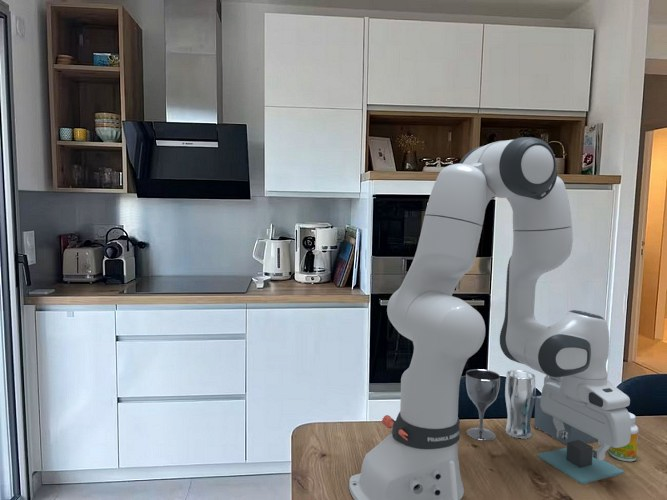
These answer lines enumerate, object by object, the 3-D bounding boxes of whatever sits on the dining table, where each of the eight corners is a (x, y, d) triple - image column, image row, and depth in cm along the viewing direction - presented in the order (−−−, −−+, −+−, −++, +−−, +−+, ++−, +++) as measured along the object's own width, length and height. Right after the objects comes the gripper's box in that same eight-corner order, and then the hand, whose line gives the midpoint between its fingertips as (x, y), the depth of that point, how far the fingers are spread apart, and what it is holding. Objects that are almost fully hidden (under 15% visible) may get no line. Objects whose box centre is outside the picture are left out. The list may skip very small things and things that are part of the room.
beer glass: (536, 441, 113) (539, 380, 112) (505, 438, 114) (508, 377, 113) (530, 428, 120) (532, 370, 119) (501, 426, 121) (503, 368, 120)
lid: (581, 487, 95) (582, 463, 95) (536, 458, 106) (537, 437, 106) (624, 475, 99) (625, 452, 99) (576, 449, 111) (577, 428, 110)
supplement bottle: (609, 458, 105) (612, 416, 105) (607, 448, 110) (610, 407, 109) (638, 464, 103) (640, 421, 102) (634, 453, 108) (637, 412, 107)
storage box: (569, 446, 110) (571, 413, 110) (534, 427, 121) (535, 396, 120) (603, 439, 114) (605, 407, 114) (566, 420, 125) (568, 391, 124)
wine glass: (460, 426, 121) (462, 368, 119) (492, 427, 120) (494, 369, 119) (468, 441, 113) (470, 379, 112) (502, 442, 112) (504, 380, 111)
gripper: (534, 372, 110) (532, 429, 111) (615, 405, 91) (611, 474, 92) (555, 369, 112) (552, 425, 113) (638, 401, 93) (633, 468, 94)
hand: (579, 448), depth 102 cm, fingers open, 8 cm apart
